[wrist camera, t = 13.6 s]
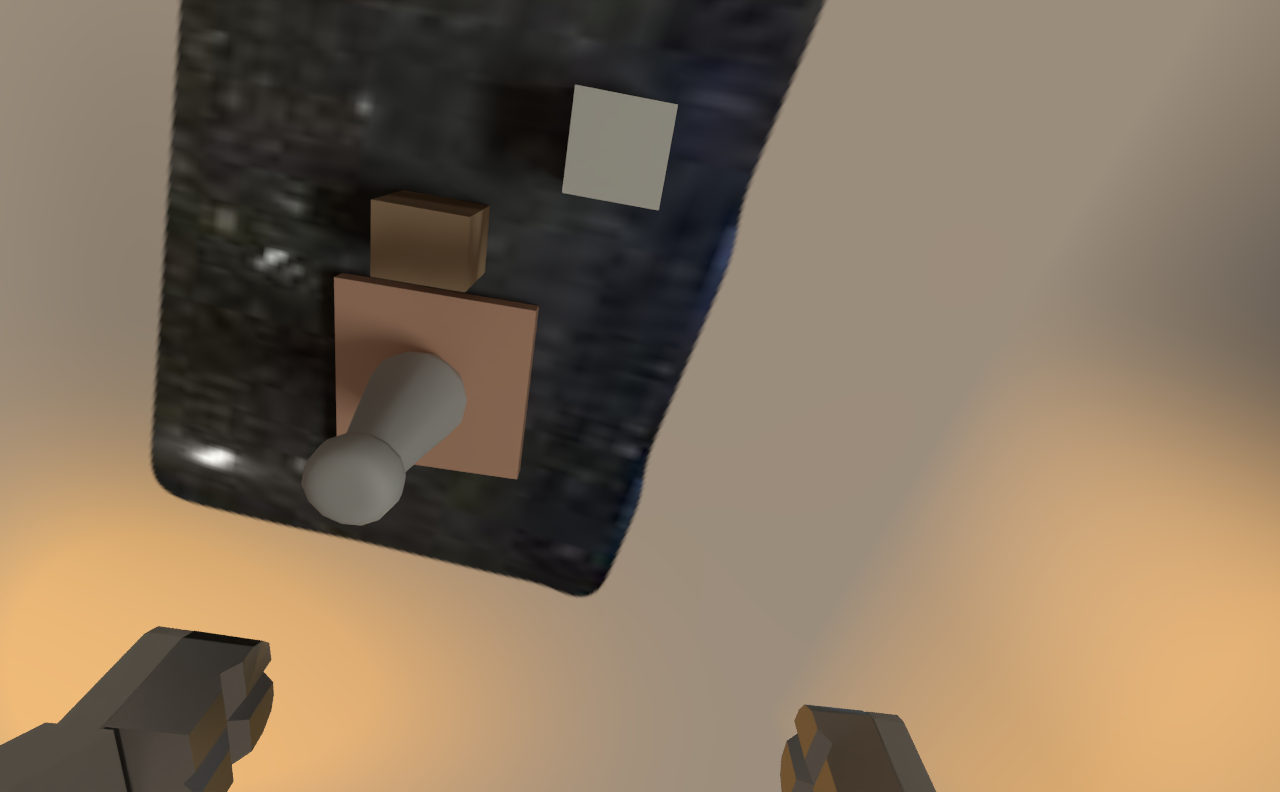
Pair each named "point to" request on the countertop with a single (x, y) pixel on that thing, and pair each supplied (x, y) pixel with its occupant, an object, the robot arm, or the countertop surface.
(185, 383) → the countertop surface
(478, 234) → the walnut block
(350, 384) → the terracotta tile
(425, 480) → the countertop surface
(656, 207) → the pale grey block
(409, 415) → the salt shaker
